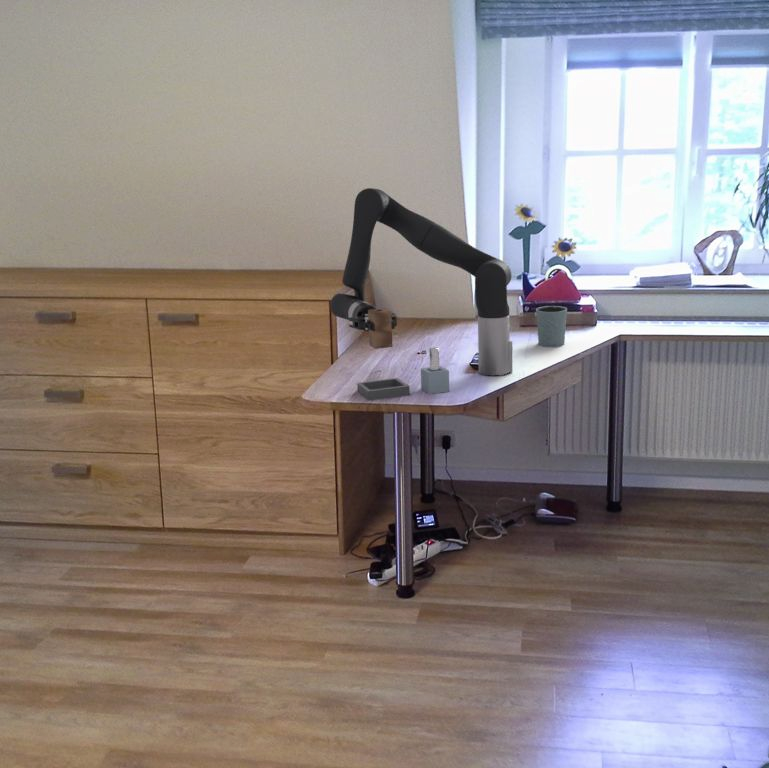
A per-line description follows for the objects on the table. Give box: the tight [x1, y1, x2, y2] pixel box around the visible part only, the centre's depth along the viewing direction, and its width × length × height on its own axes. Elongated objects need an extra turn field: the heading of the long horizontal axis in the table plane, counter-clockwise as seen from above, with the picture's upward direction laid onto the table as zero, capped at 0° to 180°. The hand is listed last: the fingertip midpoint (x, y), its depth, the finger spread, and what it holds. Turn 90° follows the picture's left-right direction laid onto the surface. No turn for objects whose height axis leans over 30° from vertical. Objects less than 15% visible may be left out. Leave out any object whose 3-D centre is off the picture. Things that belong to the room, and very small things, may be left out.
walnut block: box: [368, 307, 394, 350], centre depth 253 cm, size 5×5×10 cm
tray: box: [356, 377, 411, 401], centre depth 258 cm, size 12×10×2 cm
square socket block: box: [420, 365, 450, 395], centre depth 258 cm, size 6×6×6 cm
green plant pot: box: [535, 305, 568, 348], centre depth 306 cm, size 10×10×12 cm
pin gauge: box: [429, 346, 440, 372], centre depth 257 cm, size 3×3×12 cm
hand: (383, 326), depth 251 cm, fingers closed on walnut block, 5 cm apart
